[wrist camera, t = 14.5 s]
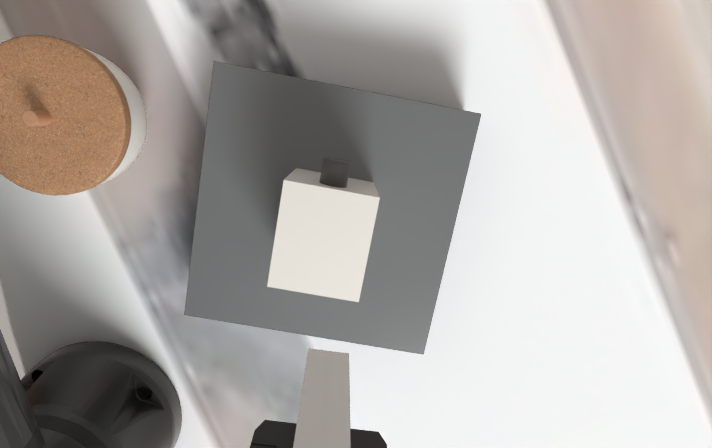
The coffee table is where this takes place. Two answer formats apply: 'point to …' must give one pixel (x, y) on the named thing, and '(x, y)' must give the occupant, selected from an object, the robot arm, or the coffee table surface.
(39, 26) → the coffee table surface
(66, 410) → the robot arm
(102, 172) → the lidded jar
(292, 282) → the plug
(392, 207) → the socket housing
